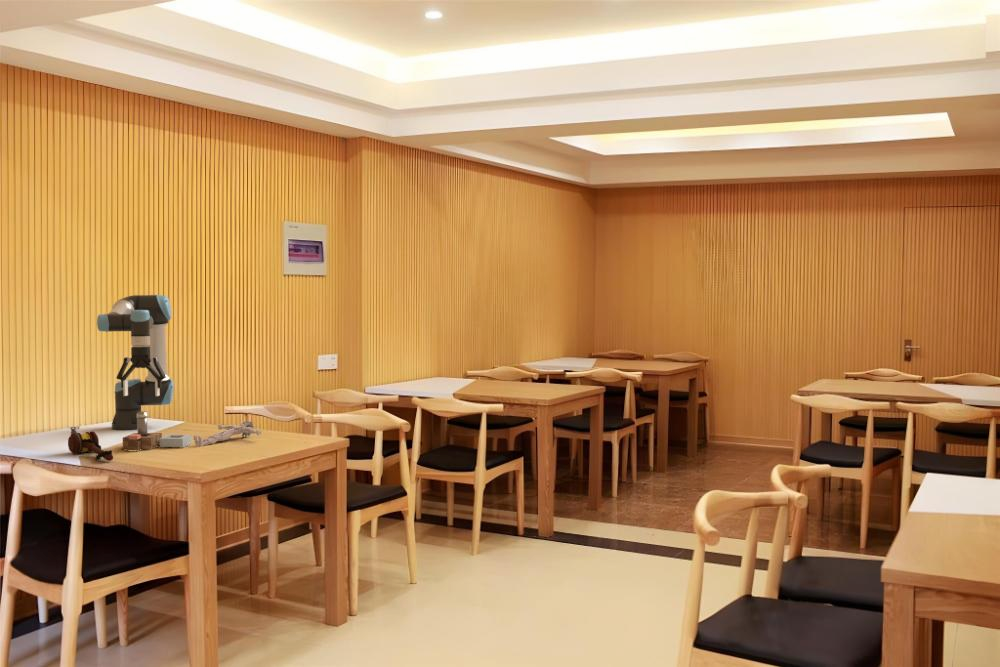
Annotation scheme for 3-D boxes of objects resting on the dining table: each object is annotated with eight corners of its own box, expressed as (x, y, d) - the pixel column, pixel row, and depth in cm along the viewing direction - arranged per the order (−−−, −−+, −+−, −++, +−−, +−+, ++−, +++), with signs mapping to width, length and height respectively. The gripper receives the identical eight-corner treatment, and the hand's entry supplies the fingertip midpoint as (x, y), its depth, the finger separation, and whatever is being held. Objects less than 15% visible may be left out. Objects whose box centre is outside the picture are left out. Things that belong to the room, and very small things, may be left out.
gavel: (123, 467, 354) (97, 470, 347) (89, 448, 378) (64, 451, 371) (123, 442, 353) (97, 445, 346) (89, 425, 377) (65, 427, 370)
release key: (132, 447, 376) (132, 434, 376) (140, 447, 376) (140, 434, 376) (129, 448, 373) (128, 435, 372) (137, 448, 373) (137, 435, 372)
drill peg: (139, 445, 385) (139, 411, 384) (149, 446, 385) (149, 411, 384) (135, 447, 380) (134, 412, 379) (145, 447, 380) (145, 413, 379)
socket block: (134, 444, 388) (134, 432, 388) (162, 444, 388) (161, 433, 388) (118, 451, 372) (118, 439, 372) (147, 451, 372) (147, 439, 372)
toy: (176, 433, 392) (231, 414, 416) (179, 451, 394) (233, 431, 418) (217, 439, 377) (271, 419, 401) (220, 458, 378) (274, 437, 402)
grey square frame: (168, 443, 390) (168, 434, 390) (191, 443, 390) (191, 434, 390) (159, 447, 380) (159, 438, 380) (183, 447, 380) (182, 438, 380)
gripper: (107, 346, 376) (108, 396, 377) (166, 346, 376) (167, 396, 377) (115, 345, 384) (116, 394, 385) (173, 345, 384) (174, 394, 385)
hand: (141, 395), depth 381 cm, fingers open, 13 cm apart
